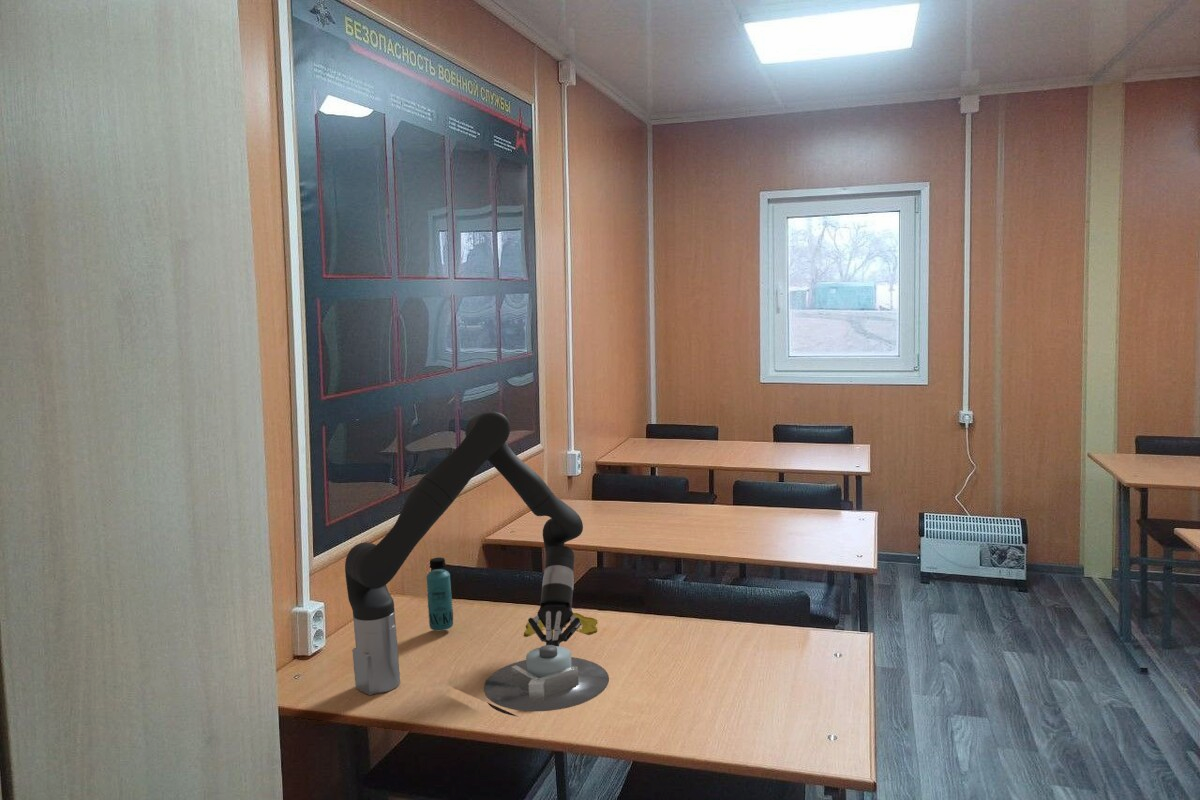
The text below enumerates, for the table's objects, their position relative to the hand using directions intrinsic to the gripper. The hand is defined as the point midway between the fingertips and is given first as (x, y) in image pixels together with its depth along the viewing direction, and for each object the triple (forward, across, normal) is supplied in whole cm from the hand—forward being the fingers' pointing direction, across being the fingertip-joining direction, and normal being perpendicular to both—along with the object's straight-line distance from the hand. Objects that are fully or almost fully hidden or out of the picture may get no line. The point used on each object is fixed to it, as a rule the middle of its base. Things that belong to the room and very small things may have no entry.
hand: (551, 658), depth 204 cm
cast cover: (+6, +1, -2) cm, 6 cm away
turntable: (+8, 0, -2) cm, 8 cm away
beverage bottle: (-16, -35, +23) cm, 45 cm away
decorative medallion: (-17, -3, +25) cm, 30 cm away
